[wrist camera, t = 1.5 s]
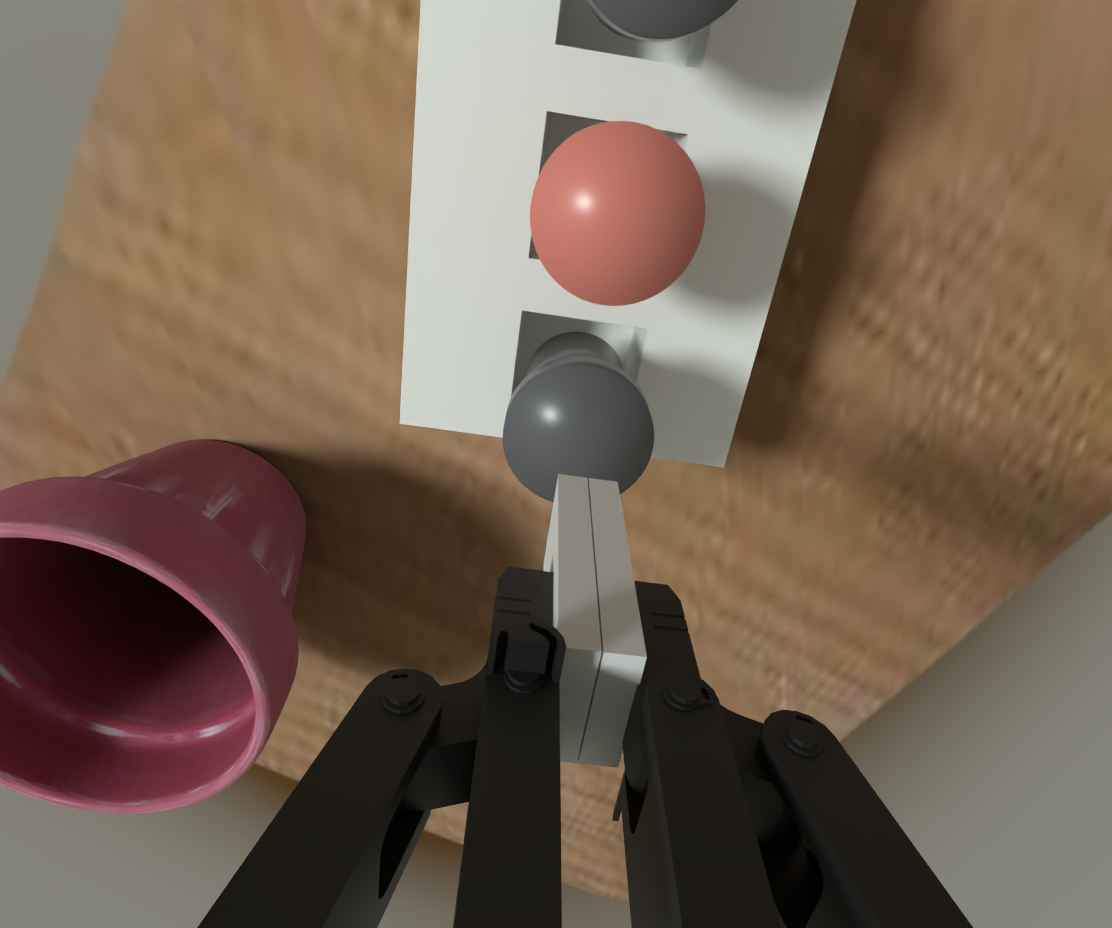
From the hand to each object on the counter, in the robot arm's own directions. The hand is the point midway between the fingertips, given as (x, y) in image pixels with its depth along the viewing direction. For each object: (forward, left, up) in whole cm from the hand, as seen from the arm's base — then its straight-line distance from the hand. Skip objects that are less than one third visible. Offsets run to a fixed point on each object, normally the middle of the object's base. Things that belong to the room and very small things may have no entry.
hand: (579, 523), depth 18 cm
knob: (0, 0, -11) cm, 11 cm away
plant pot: (+17, +12, -16) cm, 26 cm away
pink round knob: (0, -7, -11) cm, 13 cm away
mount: (0, -7, -16) cm, 18 cm away
